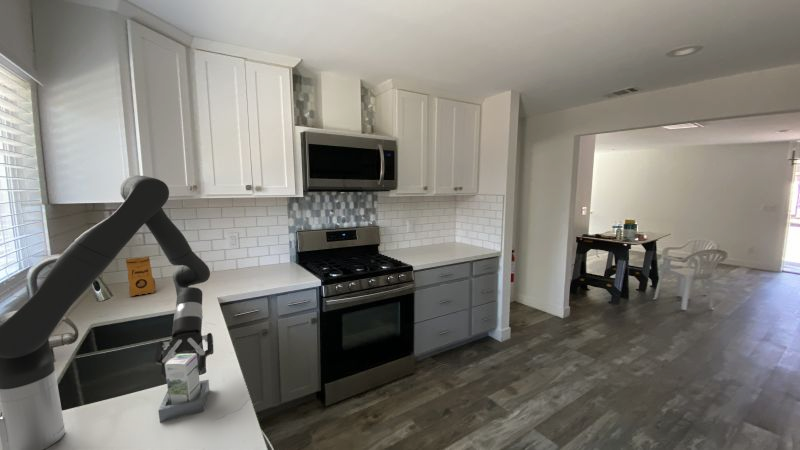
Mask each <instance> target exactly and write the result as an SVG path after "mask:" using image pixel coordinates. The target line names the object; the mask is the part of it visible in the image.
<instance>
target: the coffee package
mask: <svg viewBox="0 0 800 450" xmlns="http://www.w3.org/2000/svg"><path fill="white" fill-rule="evenodd" d="M125 263H126V269H127V280H128V284H129V287H128V288H129V290H128V291H129V292H128V293H129V296H130V297H136V296H135V295H139V296H143V295H142V294H147V295H149V294H148V293H152V294H155V292H156V291H157V289H156V281H155V279H154V277H153V273H152V272H153V271H152V267H151V260H150V256H143V257H142V256H141V257H135V258H134V257H133V258H125ZM155 290H156V291H155ZM154 291H155V292H154Z"/></svg>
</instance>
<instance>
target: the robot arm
mask: <svg viewBox="0 0 800 450" xmlns="http://www.w3.org/2000/svg"><path fill="white" fill-rule="evenodd" d="M119 193H120V195H121V198H122V199H123V200H124V201H123V202H122V203H121V205H120V206H119V207H118V208H117V209H115V211H114V212H112V214H111V215H109V216H108V217H106V218H104V219H103V220H101V221H99V222H98V223H97V224H95V225H93V226H91V227H90V228H89V229H87V230H86V231H84V232H83V233H81V234H80V235H79V236H78V237H77V238H75V240H74V241H73V242H72V243H71V244H70V245H69V246H68V247H66V249H65V250H64V251H63V252H62V253H61V255H60V256H58V258H57V259H56V261H55V262H54V264H53V265H52V267H51V268H50V269H49V271H48V273H47V275H46V276H45V277H44V279H43V280H42V283H41V284H40V286H39V288H38V289H37V290H36V292H35V293H34V294H33V295H32V296H31V297H30V298H29V300H27V301H26V302H25V303H24V304H23V305H22V306H21V307H20V308H19V309H17V310H14V311H13V310H12V311H9V312H7V313H5V314H2V315H0V411H1V416H0V444H1V448H2V450H46V449H47V448H49V447H50V446H53V445H54V444H56V443H57V442H58V441H59V440H60V439H62V438H63V436H64V435H65V433H66V429H65V423H64V416H63V410H62V405H61V398H60V392H59V386H58V380H57V374H56V368H55V362H54V357H53V354H52V350H51V349H52V348H51V345H50V339H49V338H50V337H51V335H52V333H54V330H55V329H56V328H57V326H58V324H60V322H61V320H62V319H63V317H65V315H66V313H67V312H68V311H69V309H70V308H71V306H73V305H74V303H75V302H76V301H77V300H78V299H79V298H80V297H81V296H82V295H83V294H84V293H85V292H86V291H87V290H88V288H90V286H92V284H93V283H94V282H95V281H96V280H97V279H98V278H99V276H101V274H102V273H103V272H104V271H105V270H106V269H107V268H108V266H110V264H112V262H113V261H114V260H115V258H116V257H117V256H118V255H119V253H120V252H121V251H122V250H123V248H124V247H125V246H126V245H127V244H128V243H129V242H130V240H131V239H132V238H133V237H134V236H135V234H136V233H137V232H138V231H139V230H140V229H141V228H142V227H143V226H144V225H145V226H146V227H147V228H148V230H149V232H151V235H152V236H153V238H154V239H155V240H156V242H157V243H158V246H159V247H160V248H161V250H162V252H163V254H164V255H165V257H166V258H167V260H168V262H169V263H170V264H171V265H173V266H179V267H177V268H176V269H175V270H174V271H173V274H172V279H173V280H172V281H173V283H174V288H175V292H176V293H175V294H176V302H175V303H176V304H175V311H174V315H173V324H172V330H171V331H172V334H171V339H170V341H163V340H160V341H159V342H157V347H156V351H155V357H154V362H155V363H156V364H157V365H159V366H160V365H161V372H160V374H161V376H162V377H163V378H164V379H166V371H165V364H166V363H167V362H168V361H169V360H170V359H171V358H172V357H174V356H175V355H176V354H192V353H193V352H196V354H197V355H198V354H199V360H198V371H199V372H203V371H204V369H206V367H207V365H206V364H207V357H209V356H210V355H213V354H214V337H213V333H212V332H208V333H207V334H204V335H202V326H203V317H204V316H203V296H204V295H203V291H202V290H201V289H200V288H199V287H196V286H195V287H191V286H194V285H199V284H203V283H206V282H207V281H208V280H209V279H210V276H211V272H210V267H209V266H208V264H206V262H204V261H203V260H202V259H201V258H200V256H198V255H197V254H196V253H195V252H194V251H193V249H192V247H191V246H190V244H189V242H188V240H187V239H186V237H185V236H184V234H183V233H182V232H181V231H180V229H179V228H178V227H177V226H176V225H175V224H174V223H173V221H172V220H171V219H170V218H169V217H168V215H167V214H166V213H165V211H164V209H163V206H165V204H166V203H167V201H168V200H169V196H170V189H169V186H168V185H167V184H166V183H165V181H163V180H161V179H158V178H154V177H150V176H146V175H139V174H138V175H130V176H128V177H126V178H125V179H123V180H122V182H121V183H120V186H119ZM203 341H205V343H206V344H207V347H206V348H207V349H206V350H204V349H203V348H202V347H201V346H200V344H201V343H202V342H203ZM169 346H170V347H171V348H170V349H169V351H168V352H167V354H166V355H165V357H164V353H165V350H167V349H168V347H169Z"/></svg>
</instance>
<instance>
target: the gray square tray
mask: <svg viewBox="0 0 800 450" xmlns="http://www.w3.org/2000/svg"><path fill="white" fill-rule="evenodd" d="M199 381H200V389H201V392H200V395H199V398H198V399H194V400H189V401H185V402H181V403H176V404H172V405H170V402H169V395H168V390H167V391H166V392H165V395H164V397H163V400H162V402H161V404H160V406H159V408H158V409H157V410H158V418H159V419H158V420H159V423H162V422H167V421H170V420H174V419H179V418H182V417H187V416H191V415H195V414H199V413H203V412H205V408H206V405H207V401H208V397H209V393H210V390H211V389H210V382H209V379H206V380H205V379H204V380H199Z"/></svg>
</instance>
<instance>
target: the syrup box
mask: <svg viewBox="0 0 800 450" xmlns="http://www.w3.org/2000/svg"><path fill="white" fill-rule="evenodd" d="M165 371H166V378H165V379H166V384H167V385H166V387H167V391H168V395H169V402H170V405H172V404H176V403H181V402H185V401H189V400H194V399H198V398H199V395H200V392H201V389H200V381H201V380H200V373H199V372H200V370H199V360H198V353H197V352H196V353H195V352H194V353H193V352H192V353H185V354H176V355H175V356H174V357H172V358H171V359H170V360H169V361H168V362H167V363H166V364H165Z"/></svg>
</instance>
